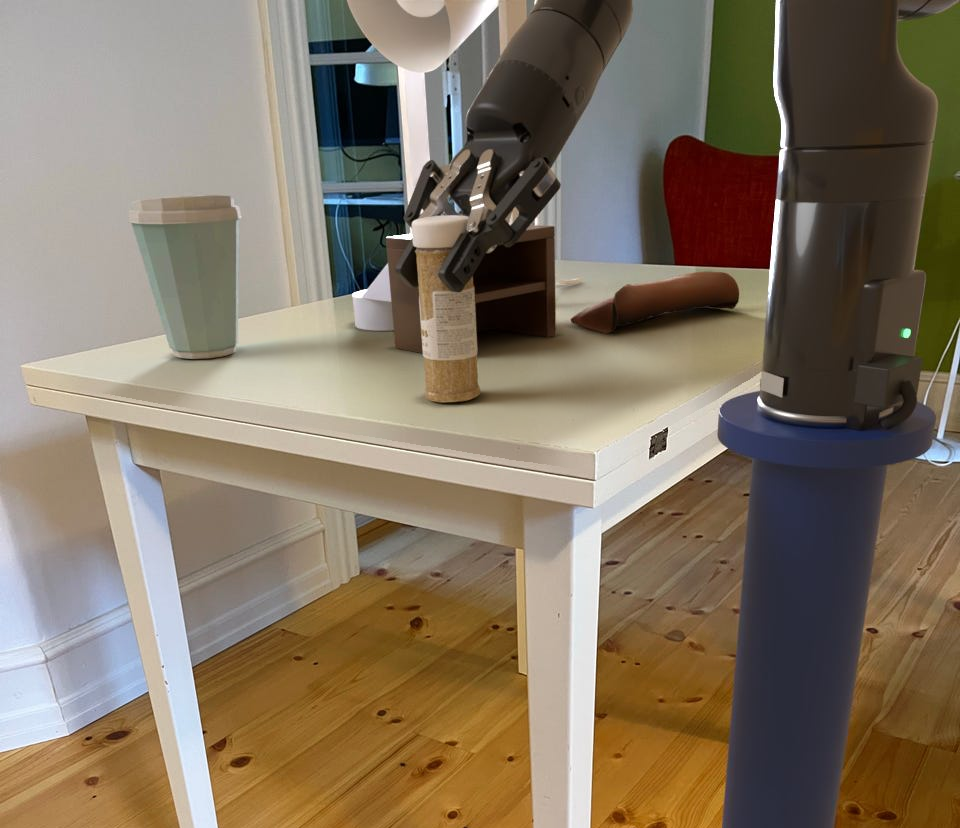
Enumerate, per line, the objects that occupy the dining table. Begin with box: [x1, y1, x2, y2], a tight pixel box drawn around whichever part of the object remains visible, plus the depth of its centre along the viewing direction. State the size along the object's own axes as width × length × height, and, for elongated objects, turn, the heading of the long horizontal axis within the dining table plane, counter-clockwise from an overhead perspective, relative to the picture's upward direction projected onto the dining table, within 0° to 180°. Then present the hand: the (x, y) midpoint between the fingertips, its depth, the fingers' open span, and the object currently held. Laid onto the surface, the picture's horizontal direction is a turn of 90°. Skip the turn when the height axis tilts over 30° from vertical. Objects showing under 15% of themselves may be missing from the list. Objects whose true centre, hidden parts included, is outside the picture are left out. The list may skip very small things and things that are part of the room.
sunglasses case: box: [570, 270, 740, 335], centre depth 106 cm, size 18×7×7 cm, turn 125°
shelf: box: [385, 224, 557, 354], centre depth 98 cm, size 9×14×10 cm, turn 132°
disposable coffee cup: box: [128, 194, 243, 360], centre depth 98 cm, size 11×11×15 cm
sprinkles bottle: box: [412, 215, 481, 403], centre depth 77 cm, size 5×5×14 cm
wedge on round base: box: [352, 262, 394, 332], centre depth 109 cm, size 9×7×13 cm
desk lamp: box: [346, 0, 582, 286], centre depth 114 cm, size 21×32×45 cm, turn 137°
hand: (426, 281), depth 74 cm, fingers closed on sprinkles bottle, 4 cm apart
